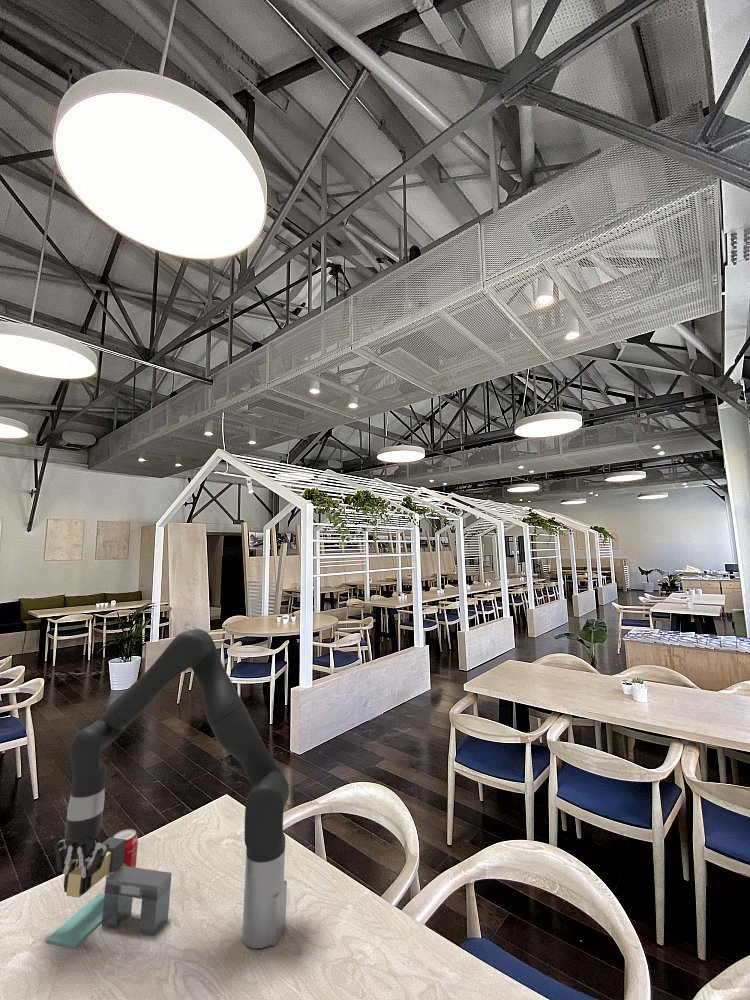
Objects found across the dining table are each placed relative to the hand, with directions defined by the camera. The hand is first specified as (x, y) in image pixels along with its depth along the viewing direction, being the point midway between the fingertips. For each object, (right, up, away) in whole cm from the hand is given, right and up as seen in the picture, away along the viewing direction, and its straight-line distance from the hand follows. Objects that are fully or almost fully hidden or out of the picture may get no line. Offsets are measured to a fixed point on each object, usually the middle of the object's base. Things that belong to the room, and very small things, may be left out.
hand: (76, 890), depth 102 cm
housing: (+13, -10, +2) cm, 16 cm away
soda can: (+1, -12, +15) cm, 19 cm away
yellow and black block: (+1, -2, +5) cm, 6 cm away
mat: (+1, -10, +3) cm, 10 cm away
